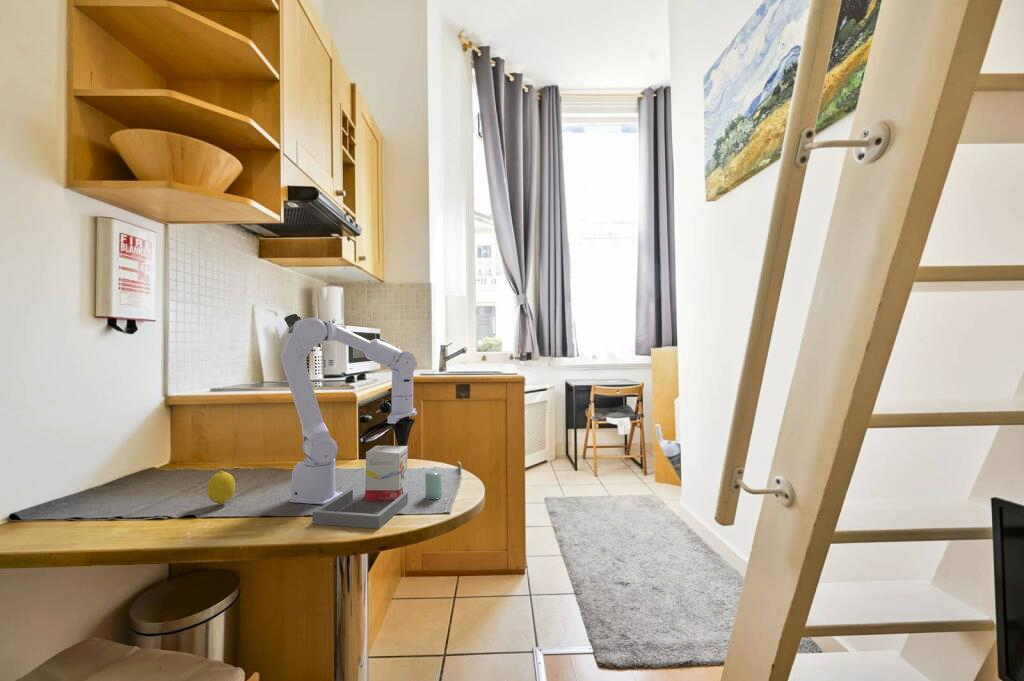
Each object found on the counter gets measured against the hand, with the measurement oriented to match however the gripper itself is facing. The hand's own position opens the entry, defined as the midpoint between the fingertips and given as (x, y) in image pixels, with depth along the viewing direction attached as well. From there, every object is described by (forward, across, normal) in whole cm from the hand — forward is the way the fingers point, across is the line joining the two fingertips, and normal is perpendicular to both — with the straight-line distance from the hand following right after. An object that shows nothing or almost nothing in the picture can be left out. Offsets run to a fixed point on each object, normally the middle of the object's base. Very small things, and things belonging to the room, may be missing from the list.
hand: (402, 445), depth 125 cm
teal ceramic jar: (+10, -9, -12) cm, 18 cm away
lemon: (+10, -23, +35) cm, 43 cm away
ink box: (+10, -10, 0) cm, 14 cm away
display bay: (+10, -22, 0) cm, 24 cm away
